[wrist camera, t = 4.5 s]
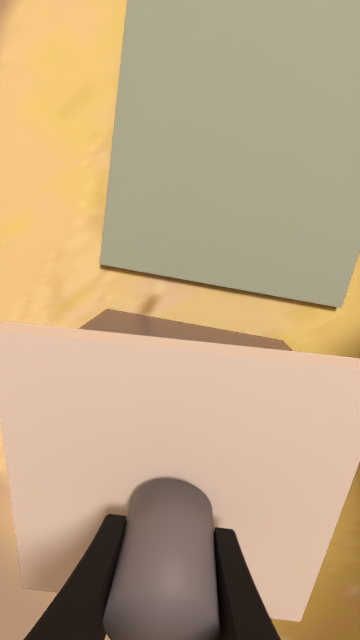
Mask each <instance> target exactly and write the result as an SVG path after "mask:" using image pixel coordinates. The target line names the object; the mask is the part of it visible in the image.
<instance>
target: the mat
mask: <svg viewBox="0 0 360 640" xmlns="http://www.w3.org/2000/svg"><path fill="white" fill-rule="evenodd" d="M359 252H360V0H127V9H126V19H125V28H124V38H123V47H122V57H121V66H120V76H119V85H118V95H117V104H116V114H115V123H114V133H113V142H112V152H111V161H110V171H109V180H108V190H107V199H106V209H105V218H104V228H103V237H102V247H101V256H100V264H101V265H106V266H112V267H117V268H123V269H128V270H134V271H140V272H145V273H151V274H156V275H162V276H167V277H173V278H178V279H184V280H189V281H195V282H200V283H206V284H212V285H217V286H223V287H228V288H234V289H239V290H245V291H250V292H256V293H261V294H267V295H272V296H278V297H284V298H289V299H295V300H300V301H306V302H311V303H317V304H322V305H328V306H333V307H339V308H342V305H343V302H344V299H345V296H346V293H347V290H348V286H349V283H350V280H351V277H352V274H353V271H354V268H355V264H356V261H357V258H358V255H359Z"/></svg>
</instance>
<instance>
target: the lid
mask: <svg viewBox="0 0 360 640" xmlns="http://www.w3.org/2000/svg"><path fill="white" fill-rule="evenodd" d="M0 419H1V427H2V434H3V442H4V450H5V458H6V466H7V473H8V481H9V489H10V497H11V505H12V512H13V520H14V527H15V536H16V544H17V551H18V559H19V567H20V575H21V582H22V588H25V589H33V590H41V591H50V592H57V593H59V591H60V590H61V589H62V587H63V586H64V584H65V583H66V581H67V580H68V578H69V577H70V575H71V574H72V572H73V571H74V569H75V568H76V566H77V564H78V563H79V561H80V560H81V558H82V557H83V555H84V554H85V552H86V550H87V549H88V547H89V545H90V544H91V542H92V540H93V539H94V537H95V535H96V533H97V532H98V530H99V528H100V526H101V524H102V522H103V520H104V518H105V516H106V515H108V514H115V515H123V516H126V524H125V528H124V532H123V537H122V541H121V545H120V549H119V554H118V558H117V562H116V566H115V570H114V575H113V579H112V583H111V587H110V592H109V596H108V600H107V605H106V609H105V613H104V618H103V625H104V629H105V632H106V634H107V635H108V637H109V638H110V639H111V640H218V638H219V633H220V626H219V610H218V593H217V576H216V560H215V543H214V529H215V527H219V528H227V529H233V530H234V532H235V533H236V536H237V539H238V542H239V545H240V548H241V551H242V553H243V556H244V559H245V561H246V564H247V566H248V569H249V571H250V574H251V576H252V578H253V581H254V583H255V586H256V588H257V590H258V592H259V595H260V597H261V599H262V601H263V603H264V606H265V608H266V610H267V612H268V615H269V617H270V618H272V619H280V620H288V621H297V622H301V619H302V617H303V614H304V611H305V608H306V606H307V603H308V600H309V598H310V595H311V592H312V589H313V587H314V584H315V581H316V579H317V576H318V573H319V571H320V568H321V565H322V562H323V560H324V557H325V554H326V552H327V549H328V546H329V544H330V541H331V538H332V535H333V533H334V530H335V527H336V525H337V522H338V519H339V516H340V514H341V511H342V508H343V506H344V503H345V500H346V498H347V495H348V492H349V489H350V487H351V484H352V481H353V479H354V476H355V473H356V471H357V468H358V465H359V462H360V358H353V357H343V356H334V355H324V354H315V353H305V352H296V351H286V350H277V349H267V348H257V347H248V346H238V345H229V344H219V343H210V342H200V341H191V340H181V339H171V338H162V337H152V336H143V335H133V334H124V333H114V332H104V331H95V330H85V329H76V328H66V327H57V326H47V325H38V324H28V323H18V322H9V321H4V322H2V323H0Z"/></svg>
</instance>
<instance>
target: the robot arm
mask: <svg viewBox="0 0 360 640" xmlns="http://www.w3.org/2000/svg"><path fill="white" fill-rule="evenodd" d="M125 524H126V516H123V515H115V514H108V515H106V516H105V518H104V520H103V522H102V524H101V526H100V528H99V530H98V532H97V533H96V535H95V537H94V539H93V540H92V542H91V544H90V545H89V547H88V549H87V550H86V552H85V554H84V555H83V557H82V558H81V560H80V561H79V563H78V564H77V566H76V568H75V569H74V571H73V572H72V574H71V575H70V577H69V578H68V580H67V581H66V583H65V584H64V586H63V587H62V589H61V590H60V591H59V593H58V594H57V596H56V597H55V598H54V600H53V601H52V602H51V604H50V605H49V607H48V608H47V610H46V611H45V612H44V614H43V615H42V617H41V618H40V619H39V620H38V622H37V623H36V624H35V626H34V627H33V628H32V630H31V631H30V632H29V633H28V635H27V636H26V637H25V639H24V640H104V639H105V636H106V632H105V629H104V625H103V618H104V613H105V609H106V605H107V600H108V596H109V592H110V587H111V583H112V579H113V575H114V570H115V566H116V562H117V558H118V554H119V549H120V545H121V541H122V537H123V532H124V528H125ZM214 543H215V560H216V576H217V593H218V610H219V626H220V633H219V638H218V640H281V639H280V637H279V635H278V633H277V631H276V629H275V627H274V625H273V623H272V621H271V619H270V617H269V615H268V612H267V610H266V608H265V606H264V603H263V601H262V599H261V597H260V595H259V592H258V590H257V588H256V586H255V583H254V581H253V578H252V576H251V574H250V571H249V569H248V566H247V564H246V561H245V559H244V556H243V553H242V551H241V548H240V545H239V542H238V539H237V536H236V533H235V532H234V530H233V529H227V528H219V527H215V529H214Z"/></svg>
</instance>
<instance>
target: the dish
mask: <svg viewBox="0 0 360 640" xmlns="http://www.w3.org/2000/svg"><path fill="white" fill-rule="evenodd" d="M79 329H85V330H95V331H104V332H114V333H124V334H133V335H143V336H152V337H162V338H171V339H181V340H191V341H200V342H210V343H219V344H229V345H238V346H248V347H257V348H267V349H277V350H286V351H293V350H292V349H291V348H290V347H289V346H288V345H287V344H286V343H285V342H284V341H283V340H277V339H272V338H266V337H260V336H255V335H249V334H244V333H238V332H233V331H227V330H222V329H216V328H211V327H205V326H199V325H194V324H188V323H183V322H177V321H172V320H166V319H161V318H155V317H150V316H144V315H138V314H133V313H127V312H122V311H116V310H111V309H106V310H105V311H103V312H102V313H100V314H99V315H97V316H96V317H95V318H93V319H92V320H90V321H89V322H88V323H86V324H85V325H83V326H82V327H80V328H79Z"/></svg>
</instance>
